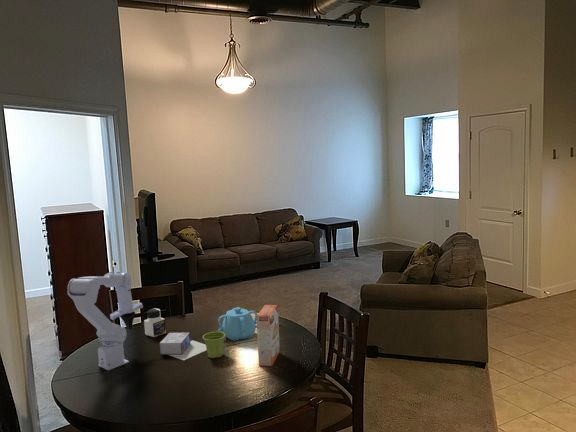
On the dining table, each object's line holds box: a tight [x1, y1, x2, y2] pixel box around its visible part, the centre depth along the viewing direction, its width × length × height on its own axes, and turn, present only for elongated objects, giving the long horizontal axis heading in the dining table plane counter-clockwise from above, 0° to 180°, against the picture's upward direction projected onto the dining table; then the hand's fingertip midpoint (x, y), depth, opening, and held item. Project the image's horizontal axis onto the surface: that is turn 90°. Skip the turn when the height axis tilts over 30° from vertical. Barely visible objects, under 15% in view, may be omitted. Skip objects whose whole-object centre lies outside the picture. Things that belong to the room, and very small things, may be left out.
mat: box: [166, 339, 207, 361], centre depth 207 cm, size 16×14×1 cm
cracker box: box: [256, 304, 280, 367], centre depth 192 cm, size 14×6×21 cm, turn 168°
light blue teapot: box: [217, 306, 258, 342], centre depth 220 cm, size 16×16×14 cm
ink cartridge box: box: [159, 332, 191, 355], centre depth 209 cm, size 10×6×14 cm
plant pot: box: [202, 331, 226, 359], centre depth 200 cm, size 9×9×9 cm
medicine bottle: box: [143, 307, 167, 338], centre depth 228 cm, size 7×7×12 cm
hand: (129, 328), depth 207 cm, fingers closed
